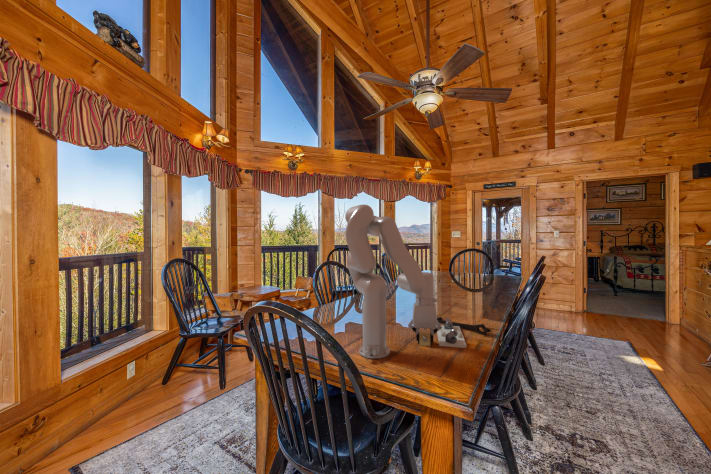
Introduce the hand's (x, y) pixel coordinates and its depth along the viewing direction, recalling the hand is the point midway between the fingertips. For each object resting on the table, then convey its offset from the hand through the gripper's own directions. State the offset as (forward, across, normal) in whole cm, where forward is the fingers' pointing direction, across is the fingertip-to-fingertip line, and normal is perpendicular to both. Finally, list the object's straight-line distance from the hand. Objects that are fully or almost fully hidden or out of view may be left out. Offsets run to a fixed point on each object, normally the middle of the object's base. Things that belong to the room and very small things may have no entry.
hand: (424, 342), depth 125 cm
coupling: (+1, 0, 0) cm, 1 cm away
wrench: (+1, -19, -25) cm, 31 cm away
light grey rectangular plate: (+1, -12, -11) cm, 16 cm away
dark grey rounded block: (-1, -11, -2) cm, 11 cm away
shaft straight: (-1, -12, -19) cm, 22 cm away
